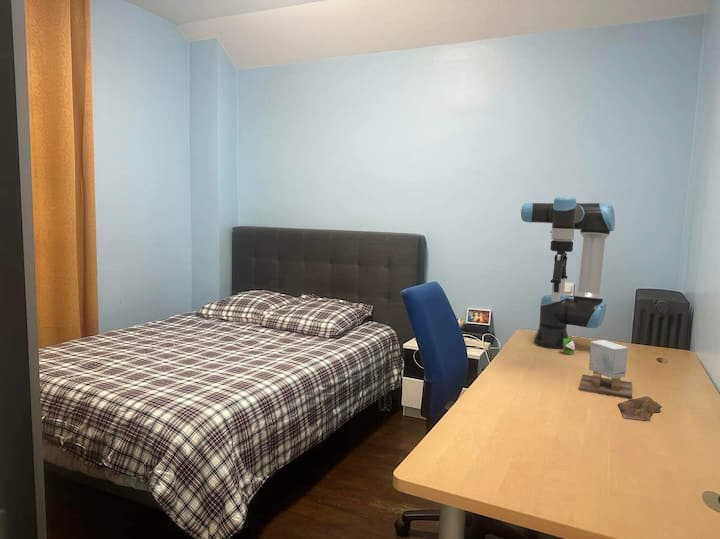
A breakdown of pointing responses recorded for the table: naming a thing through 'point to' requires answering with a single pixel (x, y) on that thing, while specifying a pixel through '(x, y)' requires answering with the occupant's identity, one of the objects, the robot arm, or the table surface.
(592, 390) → the ridge board
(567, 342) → the geometric puzzle
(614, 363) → the skincare box
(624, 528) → the table surface
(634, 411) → the wooden fragment
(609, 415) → the table surface
